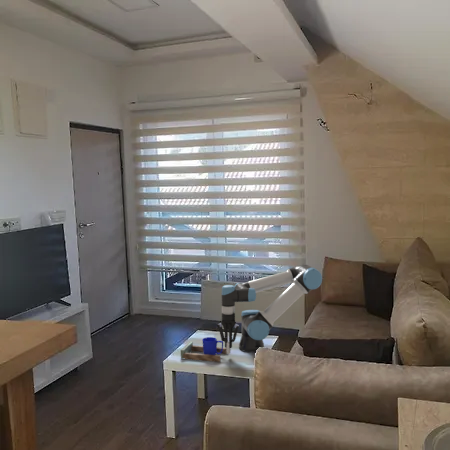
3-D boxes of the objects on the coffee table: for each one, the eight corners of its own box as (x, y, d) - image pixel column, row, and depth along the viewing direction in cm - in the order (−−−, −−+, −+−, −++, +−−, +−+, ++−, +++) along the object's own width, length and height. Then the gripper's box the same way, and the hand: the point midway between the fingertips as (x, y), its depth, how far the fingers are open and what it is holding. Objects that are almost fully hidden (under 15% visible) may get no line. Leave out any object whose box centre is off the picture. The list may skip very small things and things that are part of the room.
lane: (226, 352, 278) (226, 344, 277) (219, 361, 263) (219, 353, 263) (189, 349, 284) (189, 341, 283) (180, 358, 269) (180, 350, 269)
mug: (221, 359, 267) (221, 342, 266) (201, 358, 269) (200, 341, 268) (224, 354, 275) (224, 337, 274) (204, 353, 277) (204, 336, 276)
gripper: (241, 311, 269) (241, 352, 271) (219, 310, 273) (219, 350, 275) (237, 315, 262) (238, 356, 264) (215, 313, 266) (215, 354, 267)
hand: (228, 353), depth 269 cm, fingers closed
